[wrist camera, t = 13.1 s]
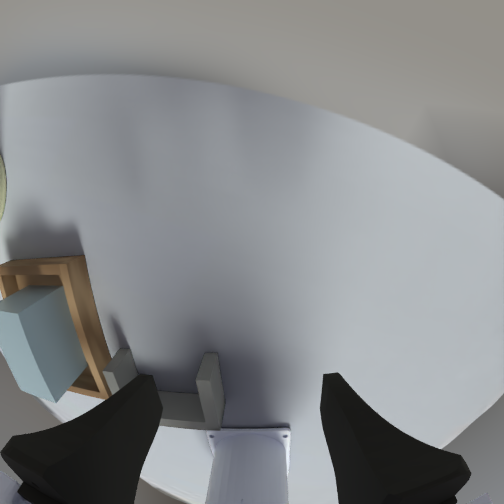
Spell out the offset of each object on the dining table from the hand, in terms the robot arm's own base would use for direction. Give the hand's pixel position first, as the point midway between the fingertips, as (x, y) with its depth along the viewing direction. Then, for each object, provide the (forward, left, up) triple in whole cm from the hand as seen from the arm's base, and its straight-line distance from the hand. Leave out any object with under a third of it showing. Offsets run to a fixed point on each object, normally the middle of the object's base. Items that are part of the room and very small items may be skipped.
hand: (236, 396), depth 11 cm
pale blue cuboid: (-2, +18, -9) cm, 20 cm away
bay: (-7, +7, -9) cm, 14 cm away
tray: (-2, +18, -9) cm, 20 cm away
